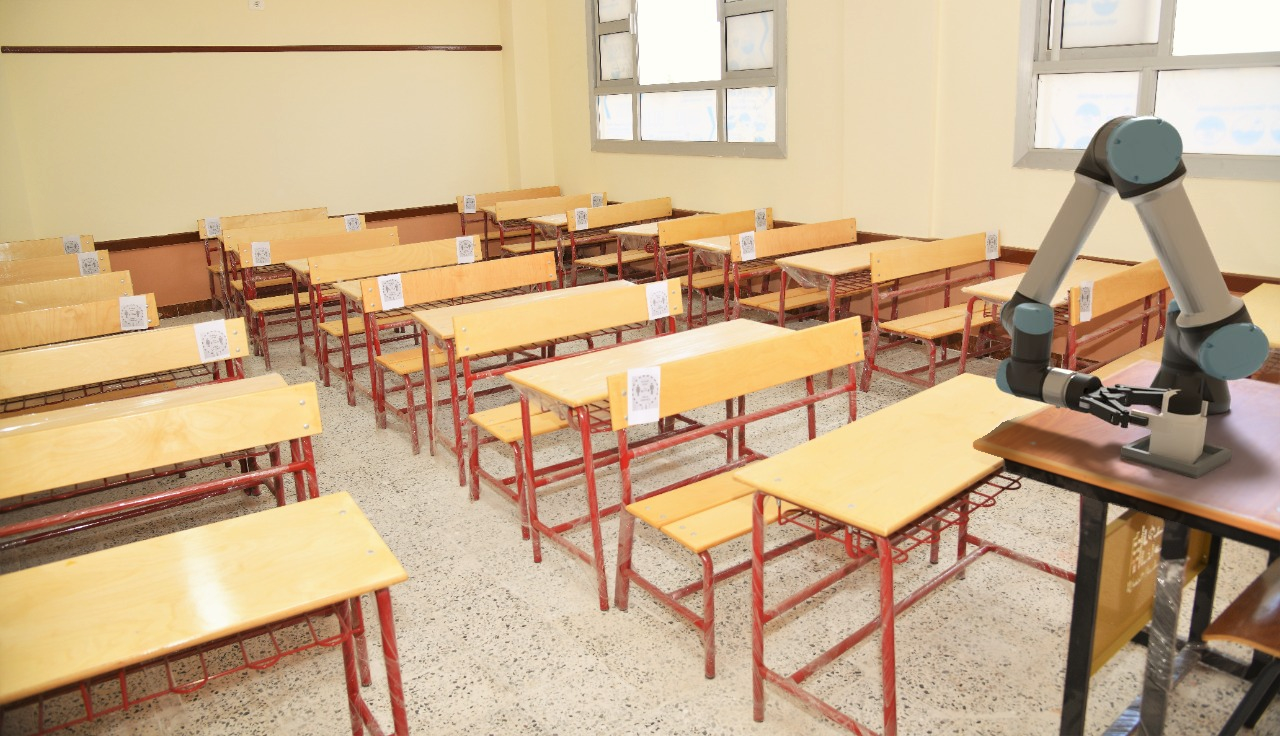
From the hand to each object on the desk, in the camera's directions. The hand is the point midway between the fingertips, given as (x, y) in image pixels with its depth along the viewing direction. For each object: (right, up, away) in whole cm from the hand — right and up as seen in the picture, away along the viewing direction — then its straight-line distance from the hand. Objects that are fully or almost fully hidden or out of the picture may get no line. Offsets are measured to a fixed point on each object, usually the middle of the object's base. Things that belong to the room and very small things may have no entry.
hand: (1188, 417), depth 158 cm
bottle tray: (0, -8, +4) cm, 8 cm away
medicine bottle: (0, -7, +3) cm, 8 cm away
